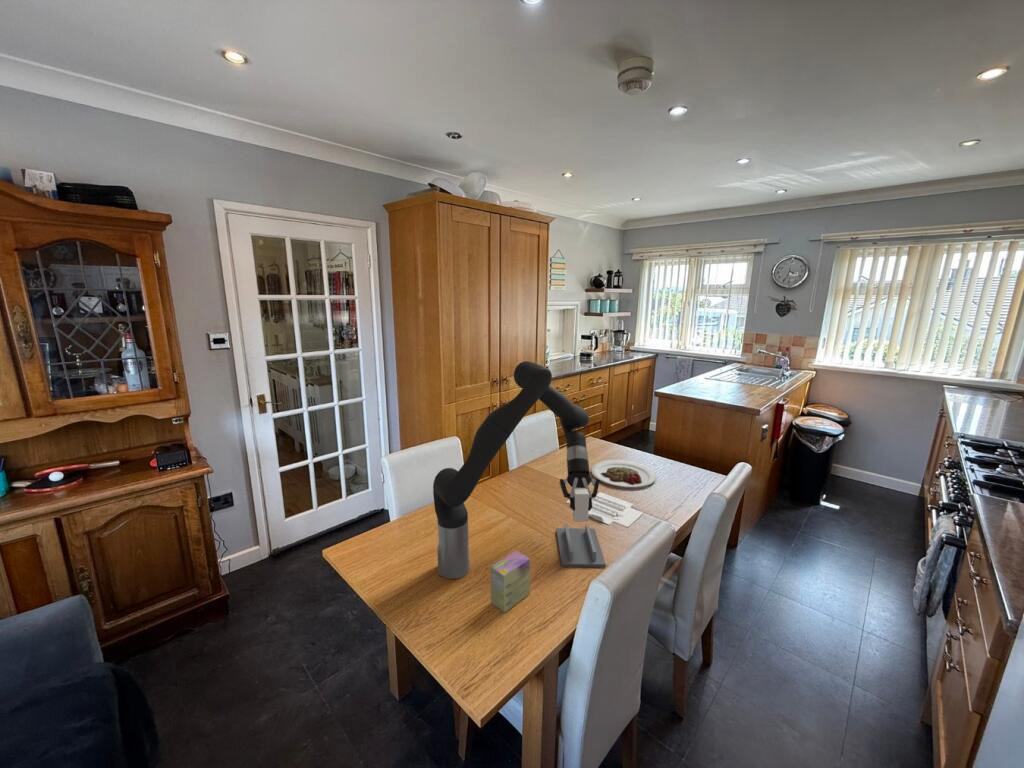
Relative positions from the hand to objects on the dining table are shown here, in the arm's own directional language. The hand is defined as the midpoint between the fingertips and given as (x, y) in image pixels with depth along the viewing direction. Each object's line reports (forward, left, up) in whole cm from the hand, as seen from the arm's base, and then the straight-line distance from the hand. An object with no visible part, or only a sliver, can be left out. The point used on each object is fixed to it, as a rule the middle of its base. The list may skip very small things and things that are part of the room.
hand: (581, 509), depth 133 cm
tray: (+14, +29, -16) cm, 36 cm away
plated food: (+29, +59, -16) cm, 67 cm away
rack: (0, +2, -15) cm, 15 cm away
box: (-23, -22, -16) cm, 35 cm away
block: (0, +2, -4) cm, 5 cm away
